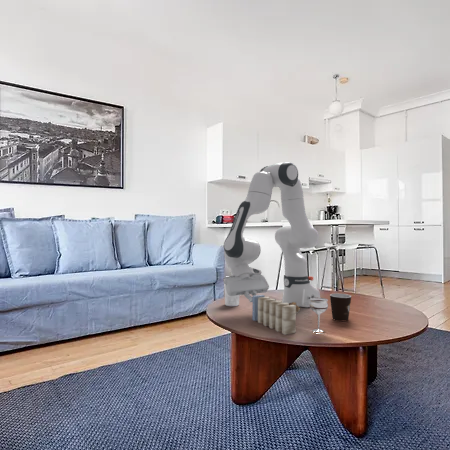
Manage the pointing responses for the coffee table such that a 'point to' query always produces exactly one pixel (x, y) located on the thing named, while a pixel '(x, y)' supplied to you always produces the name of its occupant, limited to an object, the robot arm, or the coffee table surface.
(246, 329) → the coffee table surface
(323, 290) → the coffee table surface
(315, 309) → the wineglass
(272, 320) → the domino
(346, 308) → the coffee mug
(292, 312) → the domino
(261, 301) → the domino
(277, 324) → the domino
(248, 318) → the coffee table surface
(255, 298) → the domino
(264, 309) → the domino
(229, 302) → the white cup
